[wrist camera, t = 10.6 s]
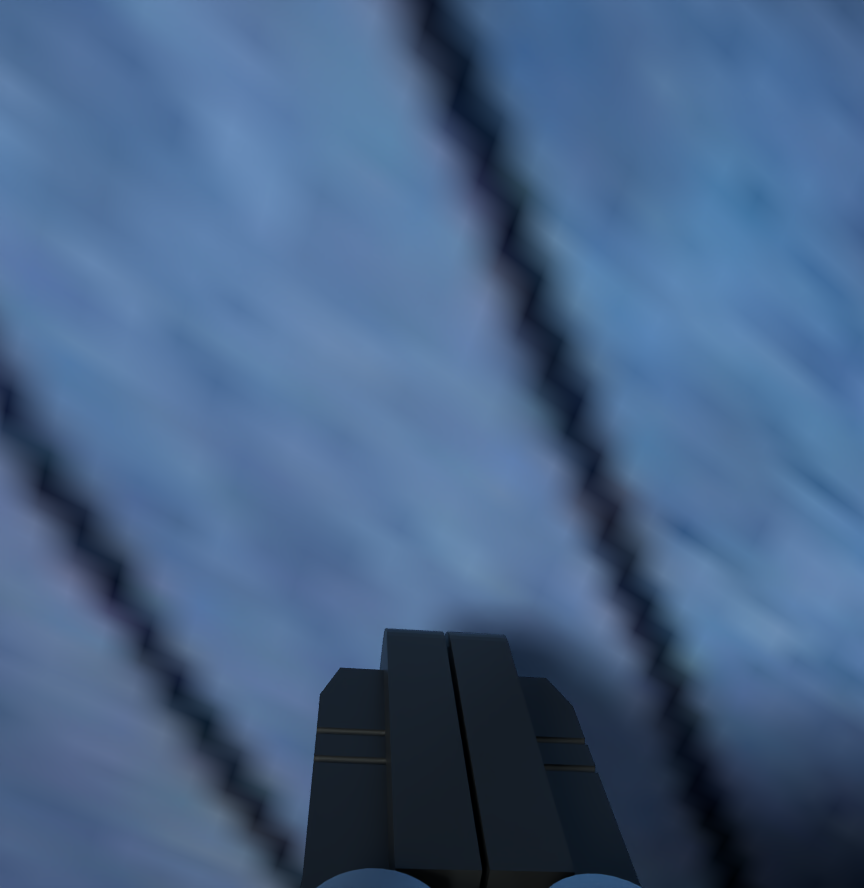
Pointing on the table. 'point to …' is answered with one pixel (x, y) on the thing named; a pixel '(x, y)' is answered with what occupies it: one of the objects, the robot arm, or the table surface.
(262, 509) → the table surface
